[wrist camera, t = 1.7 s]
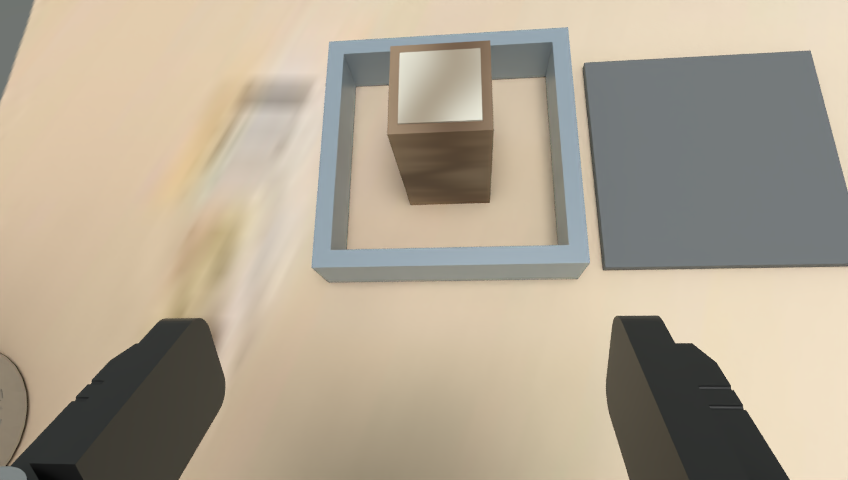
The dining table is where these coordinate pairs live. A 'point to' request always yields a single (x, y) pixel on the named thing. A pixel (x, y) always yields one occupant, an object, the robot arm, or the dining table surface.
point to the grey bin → (563, 261)
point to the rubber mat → (715, 163)
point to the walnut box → (442, 121)
